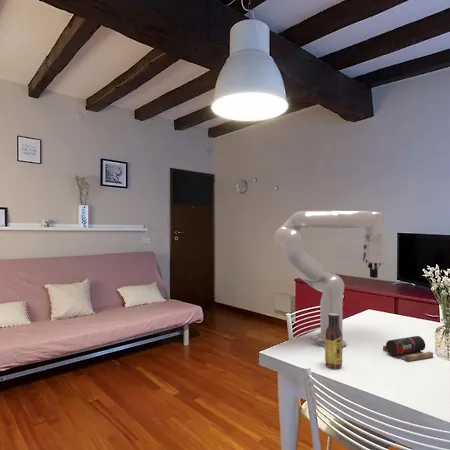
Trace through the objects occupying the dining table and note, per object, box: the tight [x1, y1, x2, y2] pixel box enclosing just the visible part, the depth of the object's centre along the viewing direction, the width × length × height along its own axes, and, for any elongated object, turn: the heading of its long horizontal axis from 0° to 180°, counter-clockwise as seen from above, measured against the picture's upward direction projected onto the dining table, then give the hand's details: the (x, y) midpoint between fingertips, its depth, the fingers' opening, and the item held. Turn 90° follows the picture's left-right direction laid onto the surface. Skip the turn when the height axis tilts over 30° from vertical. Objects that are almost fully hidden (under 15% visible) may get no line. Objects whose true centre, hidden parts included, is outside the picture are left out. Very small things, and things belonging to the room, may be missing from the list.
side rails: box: [382, 345, 434, 363], centre depth 144 cm, size 13×13×2 cm
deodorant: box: [385, 335, 426, 357], centre depth 144 cm, size 6×6×15 cm
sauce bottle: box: [324, 313, 343, 370], centre depth 132 cm, size 7×6×20 cm
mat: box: [383, 350, 434, 363], centre depth 144 cm, size 13×13×1 cm
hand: (373, 277), depth 161 cm, fingers closed
